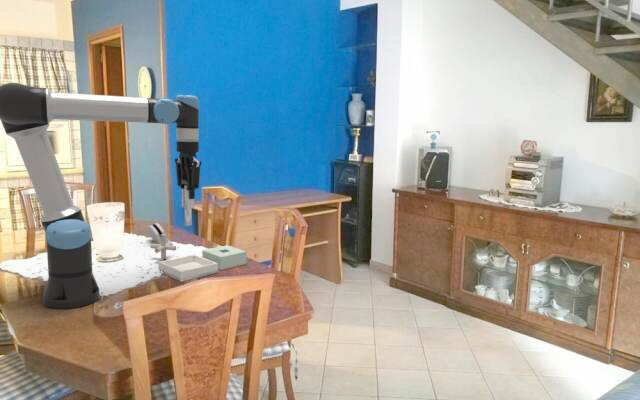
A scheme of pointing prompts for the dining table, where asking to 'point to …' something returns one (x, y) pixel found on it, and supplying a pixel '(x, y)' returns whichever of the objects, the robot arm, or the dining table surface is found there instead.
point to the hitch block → (225, 256)
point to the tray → (188, 267)
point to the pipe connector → (163, 246)
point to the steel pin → (187, 210)
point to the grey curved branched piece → (157, 233)
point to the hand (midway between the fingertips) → (188, 207)
